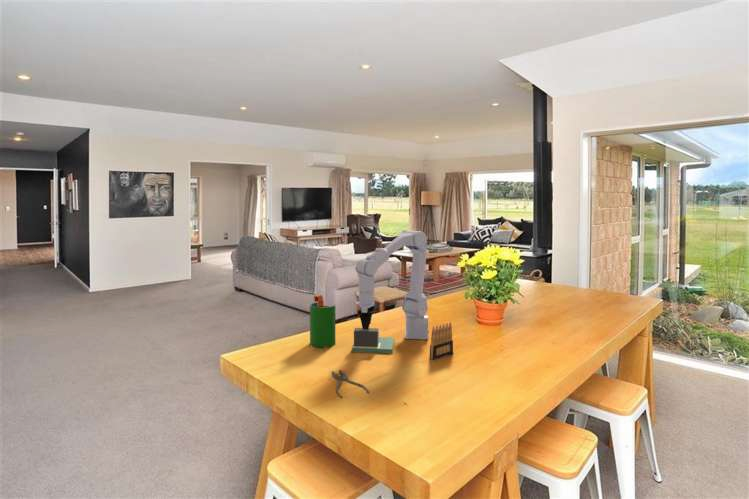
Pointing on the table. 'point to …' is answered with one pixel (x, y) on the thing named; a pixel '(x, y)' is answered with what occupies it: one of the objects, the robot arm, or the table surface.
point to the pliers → (344, 377)
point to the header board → (383, 347)
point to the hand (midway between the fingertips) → (366, 326)
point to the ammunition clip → (441, 342)
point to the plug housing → (366, 337)
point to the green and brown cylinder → (322, 323)
